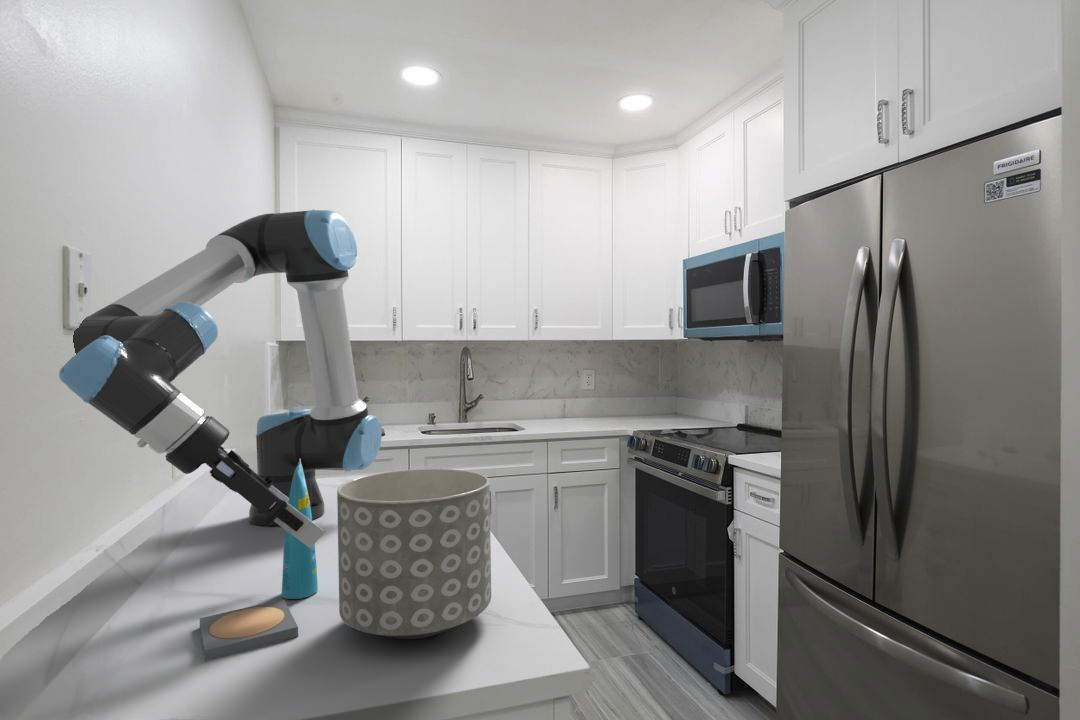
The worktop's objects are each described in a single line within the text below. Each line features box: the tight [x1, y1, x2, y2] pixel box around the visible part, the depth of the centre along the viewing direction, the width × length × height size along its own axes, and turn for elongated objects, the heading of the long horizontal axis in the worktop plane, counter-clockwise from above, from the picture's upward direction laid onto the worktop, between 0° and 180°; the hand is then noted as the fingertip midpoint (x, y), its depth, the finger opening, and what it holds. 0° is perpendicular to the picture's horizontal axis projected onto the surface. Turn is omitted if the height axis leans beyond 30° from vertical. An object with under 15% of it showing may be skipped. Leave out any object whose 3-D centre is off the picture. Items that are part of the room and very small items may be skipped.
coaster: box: [199, 598, 299, 662], centre depth 72 cm, size 10×10×1 cm
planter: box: [336, 468, 492, 640], centre depth 74 cm, size 19×19×18 cm
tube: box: [281, 459, 319, 600], centre depth 84 cm, size 7×5×19 cm, turn 26°
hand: (307, 528), depth 84 cm, fingers open, 13 cm apart
